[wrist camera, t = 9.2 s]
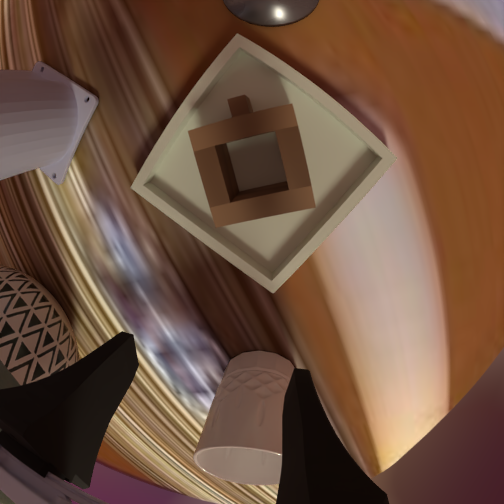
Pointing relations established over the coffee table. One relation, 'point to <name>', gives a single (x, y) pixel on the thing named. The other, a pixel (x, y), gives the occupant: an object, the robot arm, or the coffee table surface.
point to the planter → (31, 334)
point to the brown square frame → (222, 174)
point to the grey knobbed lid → (271, 11)
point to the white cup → (246, 421)
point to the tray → (264, 163)
